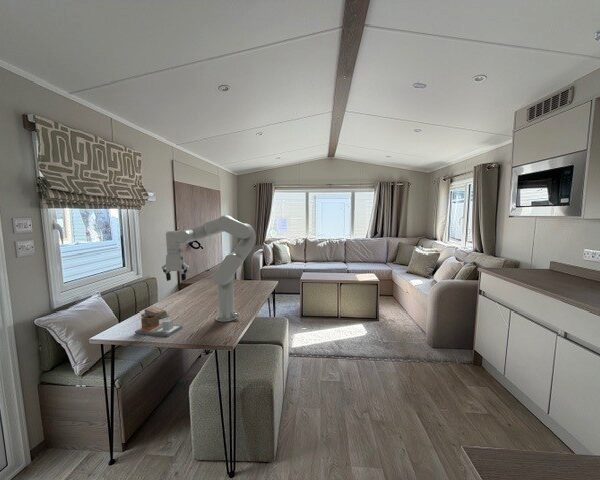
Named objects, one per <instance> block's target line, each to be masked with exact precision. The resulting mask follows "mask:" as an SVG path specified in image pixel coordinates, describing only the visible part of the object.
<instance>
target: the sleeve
mask: <svg viewBox="0 0 600 480" xmlns="http://www.w3.org/2000/svg"><path fill="white" fill-rule="evenodd" d="M140 321H141V323H140V324H141V328H142V329H147V330H152V329H154V328H156V327H158V326H159V324H160V319H159V315H147V316H144V317H141V318H140Z"/></svg>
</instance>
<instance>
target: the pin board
mask: <svg viewBox="0 0 600 480" xmlns="http://www.w3.org/2000/svg"><path fill="white" fill-rule="evenodd" d="M182 329H183V325H182V324H181V325H180V324H174V319H167V318H166V319H165V320H164V321H162V323H159V326H158V327H156V328H154V329H152V330H147V329H142V327H141V328H139V329H137V330H135V331H134V333H136V334H135V335H141V334H145V335H146V336H155V337H170V336H172V335H174V334H175V333H177V332H179V331H180V330H182ZM145 335H144V336H145Z"/></svg>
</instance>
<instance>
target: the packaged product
mask: <svg viewBox="0 0 600 480" xmlns="http://www.w3.org/2000/svg"><path fill="white" fill-rule="evenodd" d="M147 315H159V320H161V319H165V318H168V317H170V314H169V313H167V310H165V309H162V308H161V307H158V306H154V305H151V306H149V307H147V308H145V309H144V312H142V313H141V316H144V317H145V316H147Z"/></svg>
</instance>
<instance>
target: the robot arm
mask: <svg viewBox="0 0 600 480" xmlns="http://www.w3.org/2000/svg"><path fill="white" fill-rule="evenodd" d="M224 232H225V233H226V234H230V235H232V236H234V237H235V238H238V239H240V240H239V242H238V244H237V245H236V246H235V247H234V249H233V250H232V251H231V253H229V254H227V255H226V256H225V257H224V259H223V260H222V262H221V263H220V264H219V266H218V267H217V268H216V270H215V271H214V273H213V275H212V281H213V282H214V284H216V285H217V287H216V288H217V315H216V316H215V320H216V321H217V322H220V323H223V322H227V323H228V322H231V321H235V320H237V318H240V317H241V313H240V312H237V310H236V309H235V290H234V283H235V281H234V280H235V274H236V272H237V271H238V270H239V268H240V267H241V266H242V265H243V263H244V261H245V260H246V258H247V257H248V256H249V254H250V253H251V251H252V250H253V248H254V246H255V243H256V240H257V236H256V231H255V229H254V228H253V226H252V225H251V224H249V223H243V222H241V221H238V220H237V219H234V218H233V216H231V215H226V214H225V215H220V217H218V218H215V219H212V220H208V221H206V222H204V223H203V224H202V225H200V226H197V227H194V228H190V229H184V230H179V231H178V230H170V231H166V233H165V240H166V241H165V242H166V255H165V264H164V265H162V266H161V270H162V271H163V273H164V274H165V279H166V281H167V282H169V281H171V280H172V275H171V272H180V274H181V281H186V279H187V277H186V276H187V275H186V274H187V272H188V271H189V268H190V265H187V264H186V263H185V258H184V257H185V256H184V255H183V252H184V251H183V249H182V248H181V247H182V246H181V244H188V243H192V242H195V241H197V240H201V239H204V238H207V237H212V236H214V235H218V234H220V233H224Z"/></svg>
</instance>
